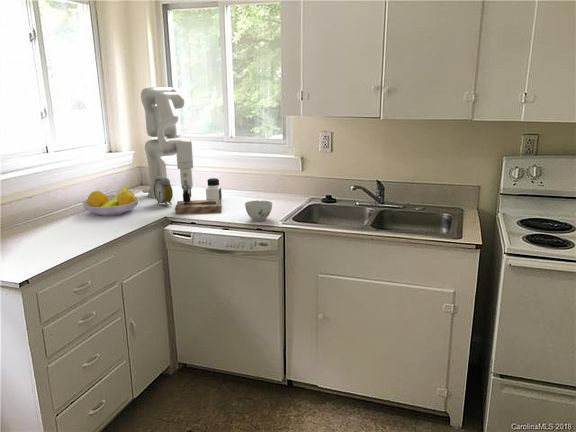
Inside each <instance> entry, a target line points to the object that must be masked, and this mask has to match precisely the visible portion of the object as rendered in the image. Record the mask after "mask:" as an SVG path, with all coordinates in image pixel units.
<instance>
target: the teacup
mask: <svg viewBox="0 0 576 432" xmlns="http://www.w3.org/2000/svg"><path fill="white" fill-rule="evenodd" d="M244 208H245V210H246V213H247V215H248V216H249V218H250V219H251V220H252V221H254V222H264V221H266V219H267V218H268V217H269V216H270V214H271V212H272V208H273V202H272V201H269V200H250V201H246V202H245V203H244Z"/></svg>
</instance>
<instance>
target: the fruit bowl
mask: <svg viewBox="0 0 576 432" xmlns="http://www.w3.org/2000/svg"><path fill="white" fill-rule="evenodd" d="M138 202H139V198H138V196H136V195H135V193H134V192H132V191H131V190H129V184H128V183H126V185H125V186H124V187H123V188H122V189H121V190H120V191H118V192H117V193H116V194H115V195H113V194H112V195H111V194H109V195H106V194H105V193H103V192H101V191H99V190H95V191H91V192H90V194H89V195H88V197H87V199H86V200H83V201H82V202H81V206H82V207H83V209H84V210H85V211H86V212H87V213H91V214H94V215H96V216H100V217H101V216H118V215H122V214H124V213H126V212H129V211H131V210H133V209H134V208H136V207H137V205H138V204H139V203H138Z"/></svg>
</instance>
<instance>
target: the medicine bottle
mask: <svg viewBox="0 0 576 432" xmlns="http://www.w3.org/2000/svg"><path fill="white" fill-rule="evenodd" d="M222 195H223V194H222V186H220V180H219V178H215V177H214V178H213V177H211V178H209V179H207V188H206V189H205V198H206V199H205V200H221V201H222V199H223V198H222V197H223V196H222Z"/></svg>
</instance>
